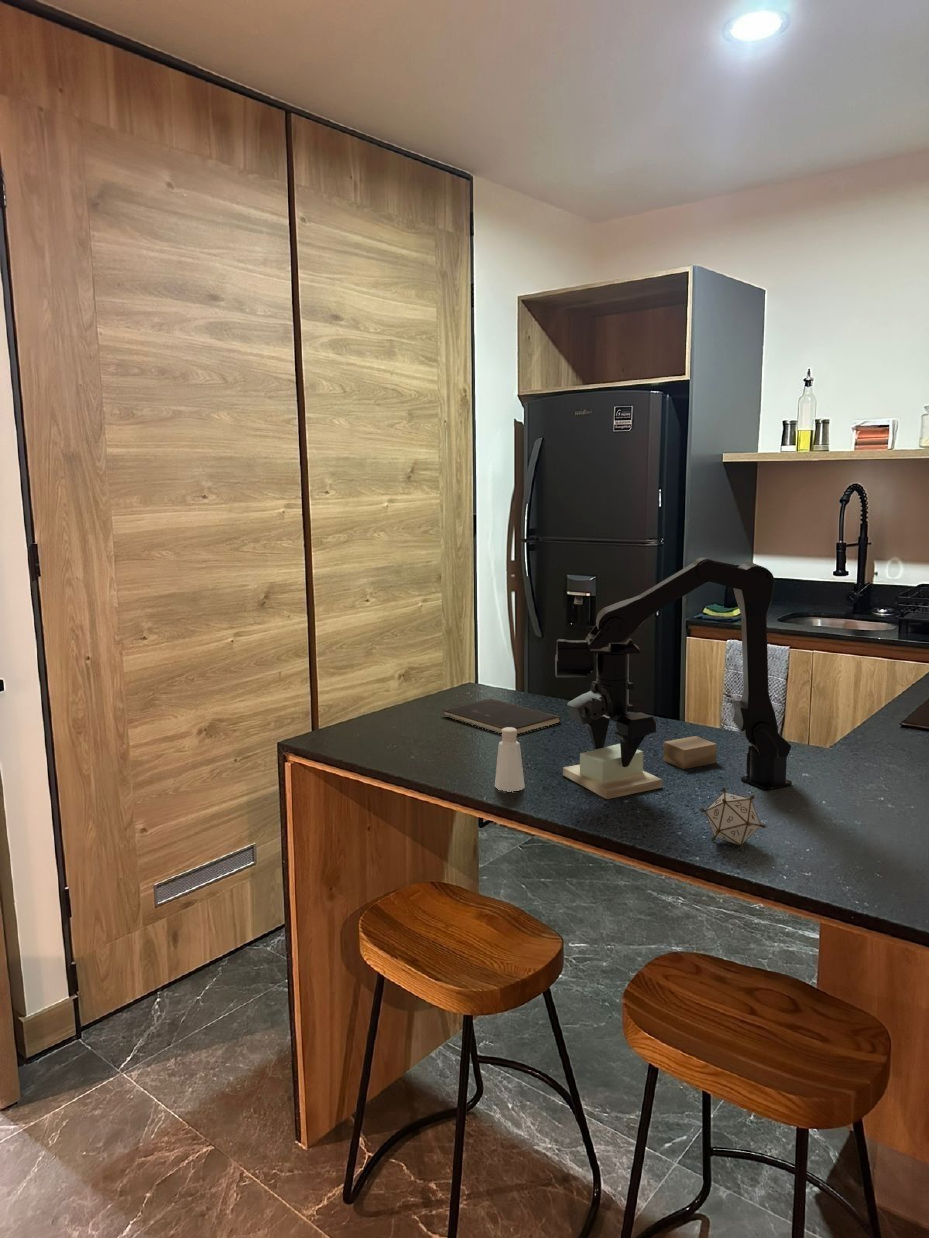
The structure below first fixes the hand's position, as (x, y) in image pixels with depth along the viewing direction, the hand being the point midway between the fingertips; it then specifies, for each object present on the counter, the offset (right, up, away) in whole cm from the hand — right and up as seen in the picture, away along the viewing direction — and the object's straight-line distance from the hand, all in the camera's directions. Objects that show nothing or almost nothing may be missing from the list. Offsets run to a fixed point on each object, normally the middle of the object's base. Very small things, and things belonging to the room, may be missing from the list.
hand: (611, 760), depth 159 cm
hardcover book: (-19, +2, +42) cm, 46 cm away
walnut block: (+17, -2, +11) cm, 21 cm away
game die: (+14, -8, -27) cm, 31 cm away
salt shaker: (-19, -5, -2) cm, 19 cm away
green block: (0, -2, 0) cm, 3 cm away
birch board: (0, -4, +1) cm, 4 cm away
